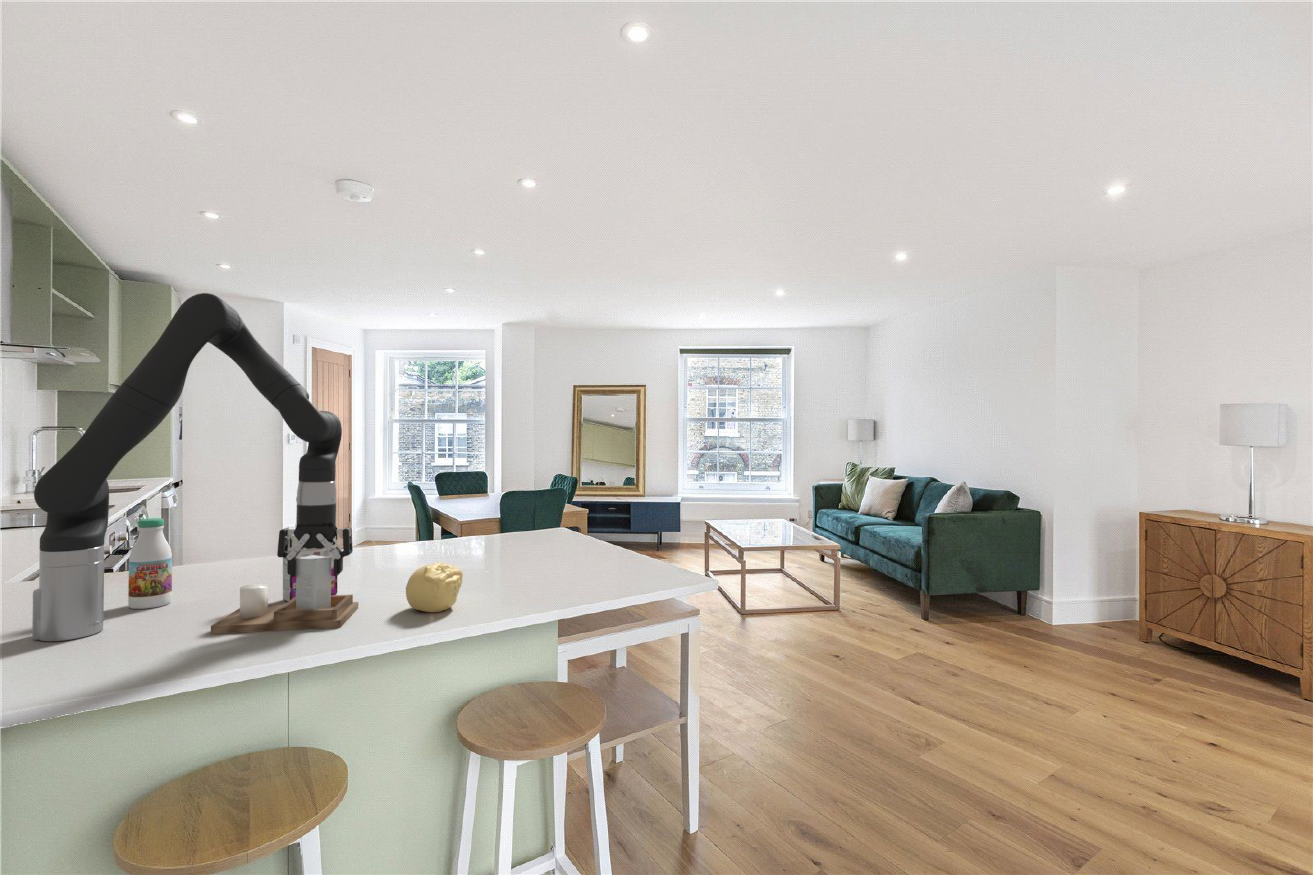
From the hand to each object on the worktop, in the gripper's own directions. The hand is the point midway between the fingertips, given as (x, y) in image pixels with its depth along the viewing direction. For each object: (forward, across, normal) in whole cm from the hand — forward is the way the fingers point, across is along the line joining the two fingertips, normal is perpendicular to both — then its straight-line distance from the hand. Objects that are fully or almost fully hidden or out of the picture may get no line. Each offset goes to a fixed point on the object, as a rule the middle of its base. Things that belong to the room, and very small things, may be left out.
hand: (315, 575), depth 131 cm
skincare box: (+8, 0, 0) cm, 8 cm away
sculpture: (+10, -24, -4) cm, 26 cm away
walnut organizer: (+10, +5, 0) cm, 11 cm away
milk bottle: (+10, +40, -17) cm, 44 cm away
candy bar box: (+10, +7, -19) cm, 23 cm away
